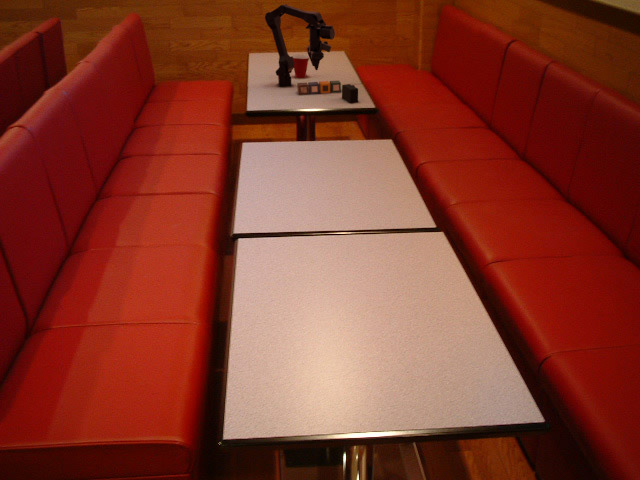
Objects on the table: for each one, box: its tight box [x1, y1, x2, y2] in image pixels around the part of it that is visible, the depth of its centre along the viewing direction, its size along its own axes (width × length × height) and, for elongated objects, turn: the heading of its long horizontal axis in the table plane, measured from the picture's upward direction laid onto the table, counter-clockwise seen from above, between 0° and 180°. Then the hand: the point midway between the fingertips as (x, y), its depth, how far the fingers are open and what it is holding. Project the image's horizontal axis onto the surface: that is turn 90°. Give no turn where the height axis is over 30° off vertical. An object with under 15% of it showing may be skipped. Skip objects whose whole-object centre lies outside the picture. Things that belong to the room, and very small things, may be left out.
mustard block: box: [318, 80, 331, 94], centre depth 337 cm, size 5×5×5 cm
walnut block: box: [296, 82, 309, 96], centre depth 335 cm, size 5×5×5 cm
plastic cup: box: [291, 54, 310, 79], centre depth 365 cm, size 11×11×12 cm
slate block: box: [307, 81, 320, 95], centre depth 336 cm, size 5×5×5 cm
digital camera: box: [341, 83, 359, 104], centre depth 321 cm, size 10×5×7 cm, turn 23°
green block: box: [329, 79, 342, 94], centre depth 338 cm, size 5×5×5 cm
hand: (315, 68), depth 339 cm, fingers open, 9 cm apart
